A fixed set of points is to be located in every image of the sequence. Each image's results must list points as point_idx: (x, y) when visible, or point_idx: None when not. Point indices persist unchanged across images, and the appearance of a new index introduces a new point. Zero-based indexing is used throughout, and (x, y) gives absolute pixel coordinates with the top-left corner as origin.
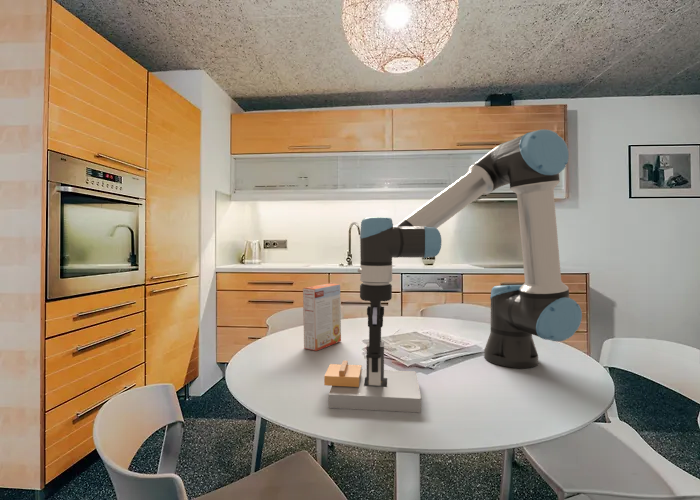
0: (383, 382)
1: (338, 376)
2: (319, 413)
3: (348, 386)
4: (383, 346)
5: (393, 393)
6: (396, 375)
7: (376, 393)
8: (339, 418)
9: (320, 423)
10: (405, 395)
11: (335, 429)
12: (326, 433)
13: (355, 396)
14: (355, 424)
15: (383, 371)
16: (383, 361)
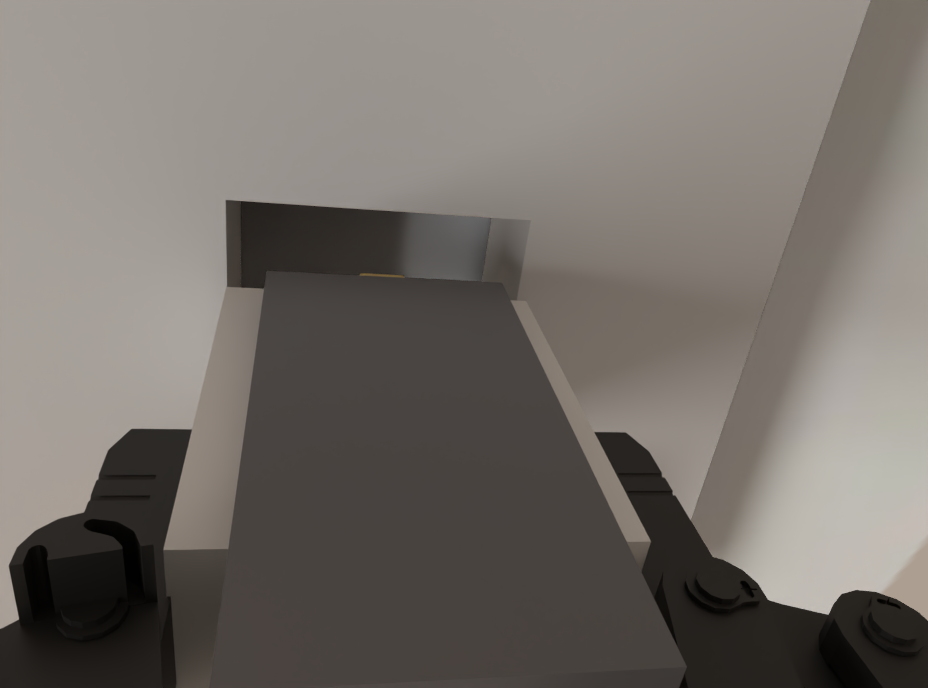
0: (231, 226)
1: None
2: None
3: None
4: (644, 677)
5: (713, 156)
6: (90, 46)
7: (681, 335)
8: (760, 510)
9: (793, 592)
10: (800, 11)
11: (884, 513)
12: (910, 548)
13: (691, 498)
14: (863, 414)
15: (532, 349)
16: (578, 443)
